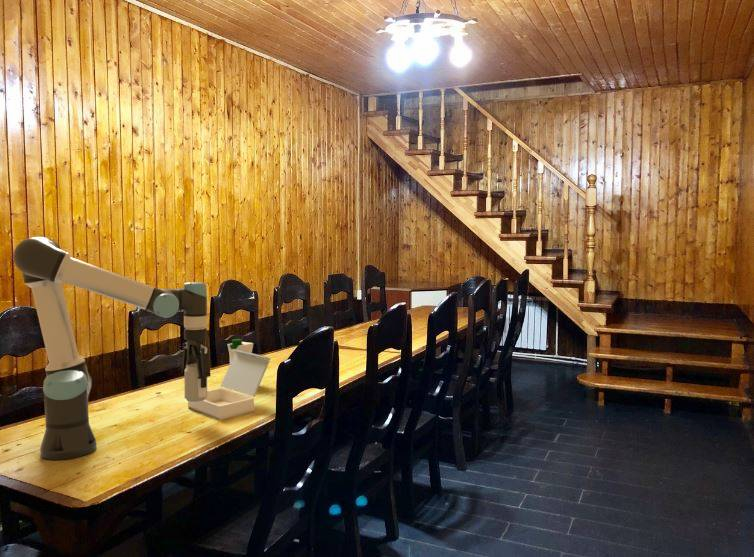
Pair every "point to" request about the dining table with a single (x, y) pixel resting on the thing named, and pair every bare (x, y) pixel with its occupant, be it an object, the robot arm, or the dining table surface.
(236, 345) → the milk carton
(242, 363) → the lid
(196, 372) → the can
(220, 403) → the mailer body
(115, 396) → the dining table surface
